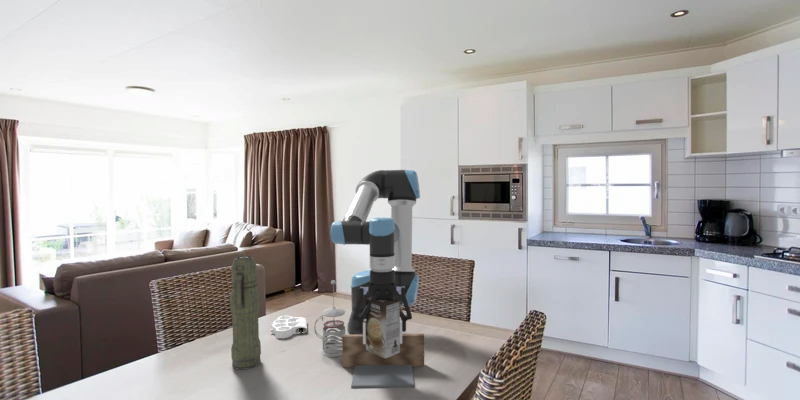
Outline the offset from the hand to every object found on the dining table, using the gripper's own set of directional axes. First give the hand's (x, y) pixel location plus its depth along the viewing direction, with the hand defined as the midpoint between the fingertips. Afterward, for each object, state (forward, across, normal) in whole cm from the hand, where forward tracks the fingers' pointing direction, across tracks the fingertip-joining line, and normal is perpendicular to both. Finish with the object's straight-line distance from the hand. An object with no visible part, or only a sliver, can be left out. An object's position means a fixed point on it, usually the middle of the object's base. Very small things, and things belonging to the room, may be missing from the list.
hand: (382, 342), depth 121 cm
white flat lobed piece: (+11, -39, +40) cm, 57 cm away
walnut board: (+10, 0, +7) cm, 13 cm away
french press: (+11, -18, +19) cm, 29 cm away
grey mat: (+10, 0, 0) cm, 10 cm away
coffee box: (+3, 0, 0) cm, 3 cm away
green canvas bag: (+11, -45, +10) cm, 47 cm away
